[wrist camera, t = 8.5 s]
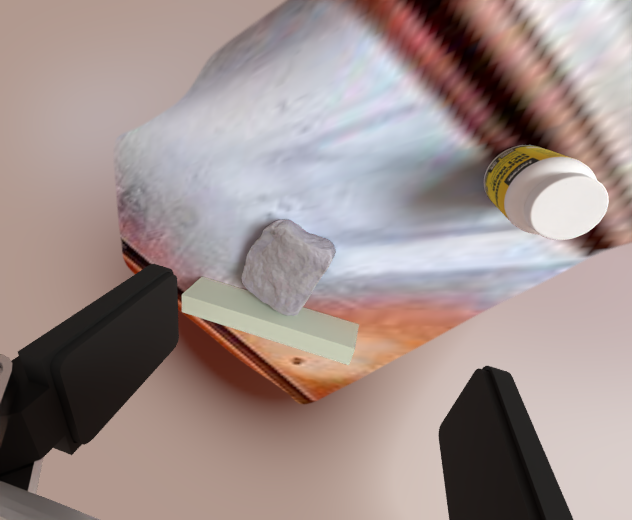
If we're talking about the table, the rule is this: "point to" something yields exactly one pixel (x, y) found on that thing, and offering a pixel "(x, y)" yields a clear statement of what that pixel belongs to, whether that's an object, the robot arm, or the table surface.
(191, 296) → the board
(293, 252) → the grey rock
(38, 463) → the robot arm
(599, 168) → the table surface
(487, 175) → the pill bottle
